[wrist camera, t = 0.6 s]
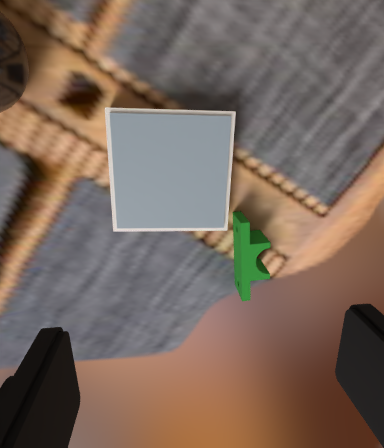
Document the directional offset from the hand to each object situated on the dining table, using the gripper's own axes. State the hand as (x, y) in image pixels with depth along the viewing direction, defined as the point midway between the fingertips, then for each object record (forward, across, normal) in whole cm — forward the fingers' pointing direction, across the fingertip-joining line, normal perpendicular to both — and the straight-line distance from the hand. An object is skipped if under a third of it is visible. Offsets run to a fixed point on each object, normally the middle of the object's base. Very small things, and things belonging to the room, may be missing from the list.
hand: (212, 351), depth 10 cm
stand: (+30, 0, -2) cm, 30 cm away
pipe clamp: (+30, -10, +10) cm, 33 cm away
